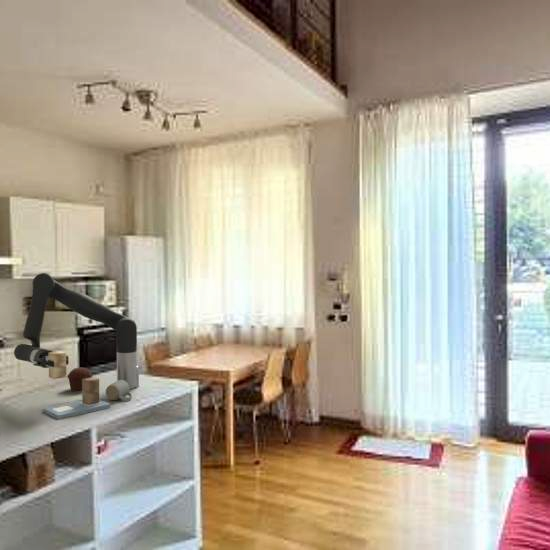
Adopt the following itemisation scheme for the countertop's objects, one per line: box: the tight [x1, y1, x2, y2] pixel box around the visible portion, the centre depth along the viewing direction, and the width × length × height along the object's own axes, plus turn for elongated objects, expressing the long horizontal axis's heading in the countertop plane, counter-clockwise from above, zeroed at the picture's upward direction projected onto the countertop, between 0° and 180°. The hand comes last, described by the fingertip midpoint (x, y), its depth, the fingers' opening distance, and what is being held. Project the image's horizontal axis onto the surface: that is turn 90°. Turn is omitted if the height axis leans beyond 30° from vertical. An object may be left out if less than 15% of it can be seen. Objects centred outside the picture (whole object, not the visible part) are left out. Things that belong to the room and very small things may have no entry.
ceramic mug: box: [105, 380, 133, 402], centre depth 235 cm, size 11×8×8 cm
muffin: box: [66, 366, 94, 392], centre depth 252 cm, size 12×11×10 cm
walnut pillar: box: [81, 376, 100, 405], centre depth 223 cm, size 5×5×10 cm
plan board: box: [42, 399, 112, 420], centre depth 219 cm, size 22×14×2 cm, turn 137°
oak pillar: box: [48, 350, 67, 380], centre depth 216 cm, size 5×5×10 cm
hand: (60, 363), depth 214 cm, fingers closed on oak pillar, 5 cm apart
